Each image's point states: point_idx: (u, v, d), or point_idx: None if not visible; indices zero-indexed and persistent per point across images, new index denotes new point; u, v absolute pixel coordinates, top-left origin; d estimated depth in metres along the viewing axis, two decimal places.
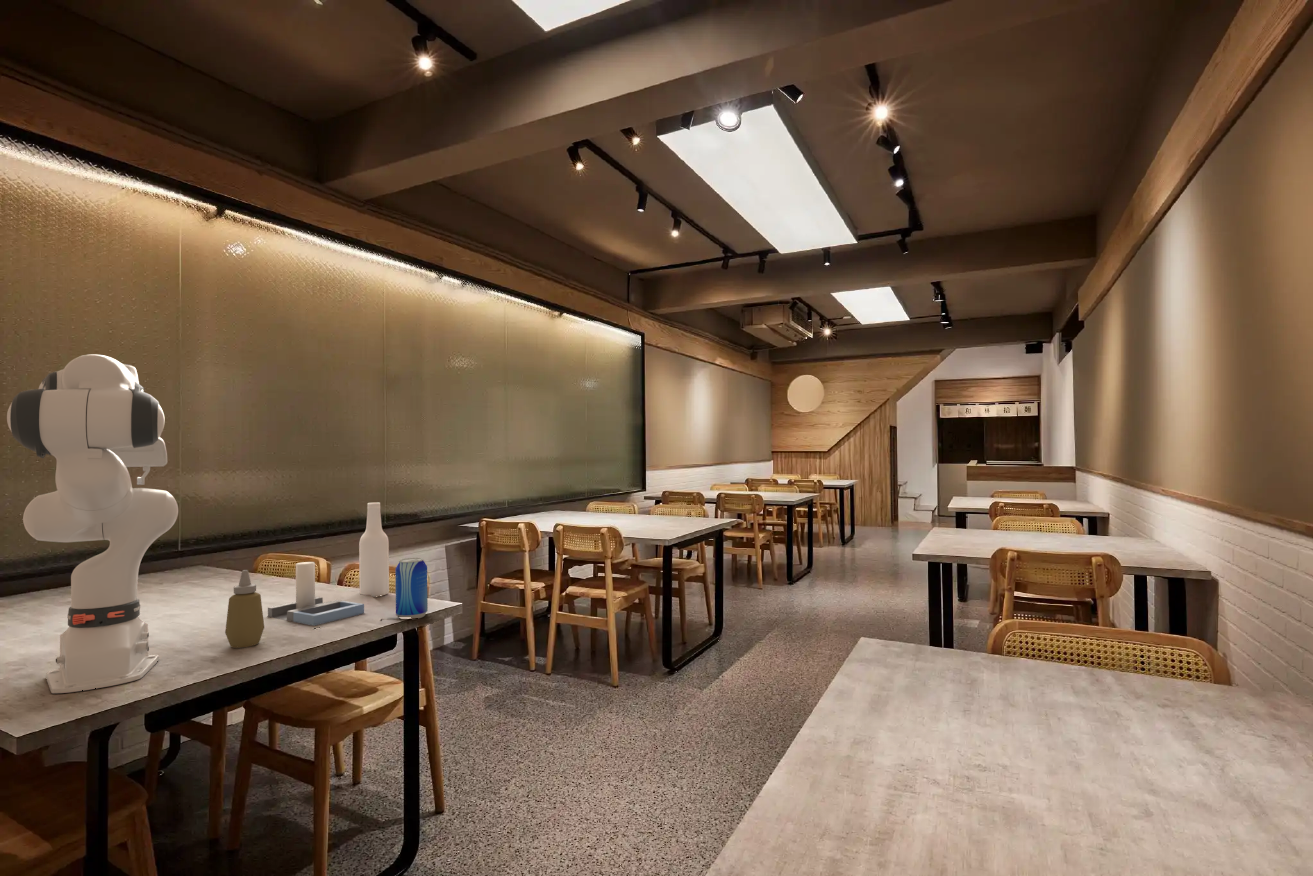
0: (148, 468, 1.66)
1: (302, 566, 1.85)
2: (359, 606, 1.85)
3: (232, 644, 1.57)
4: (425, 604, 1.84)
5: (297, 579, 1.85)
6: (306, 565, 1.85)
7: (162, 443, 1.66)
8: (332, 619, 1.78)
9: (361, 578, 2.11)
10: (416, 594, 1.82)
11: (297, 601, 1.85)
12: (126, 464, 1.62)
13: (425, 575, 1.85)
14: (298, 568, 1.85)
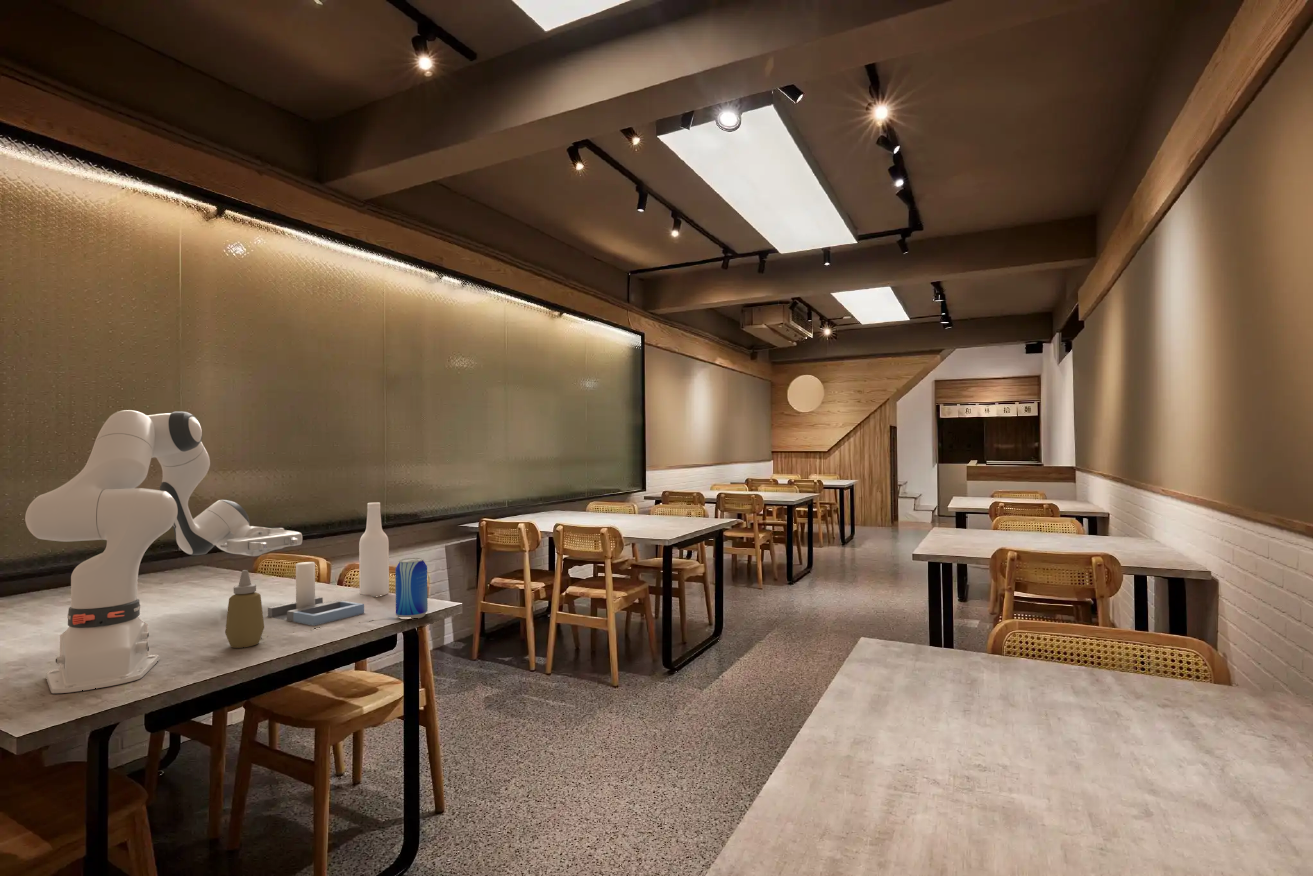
0: (292, 537, 2.01)
1: (302, 566, 1.85)
2: (359, 606, 1.85)
3: (232, 644, 1.57)
4: (425, 604, 1.84)
5: (297, 579, 1.85)
6: (306, 565, 1.85)
7: None
8: (332, 619, 1.78)
9: (361, 578, 2.11)
10: (416, 594, 1.82)
11: (297, 601, 1.85)
12: (276, 536, 1.98)
13: (425, 575, 1.85)
14: (298, 568, 1.85)
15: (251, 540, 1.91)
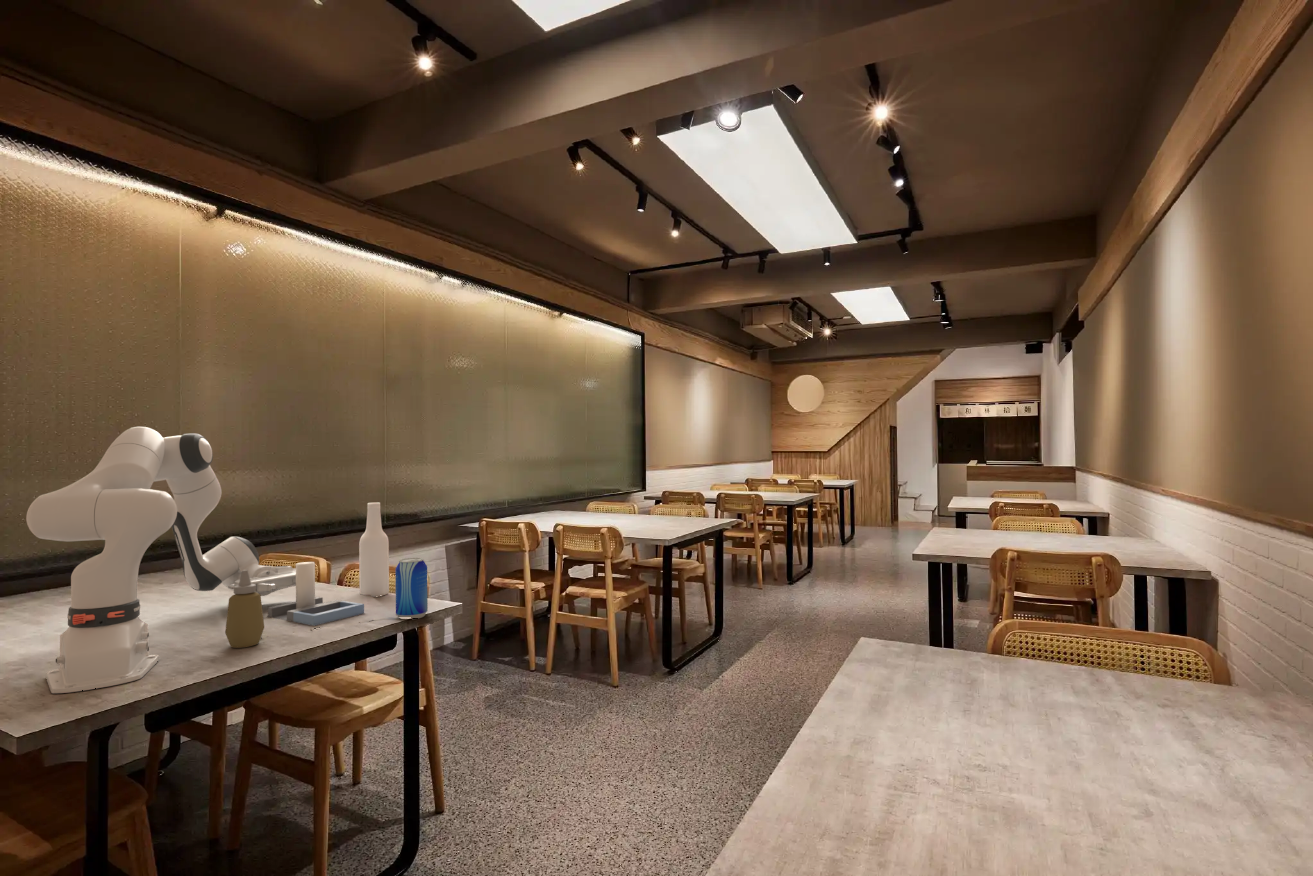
0: None
1: (302, 566, 1.85)
2: (359, 606, 1.85)
3: (232, 644, 1.57)
4: (425, 604, 1.84)
5: (297, 579, 1.85)
6: (306, 565, 1.85)
7: None
8: (332, 619, 1.78)
9: (361, 578, 2.11)
10: (416, 594, 1.82)
11: (297, 601, 1.85)
12: (284, 575, 1.95)
13: (425, 575, 1.85)
14: (298, 568, 1.85)
15: (259, 581, 1.88)
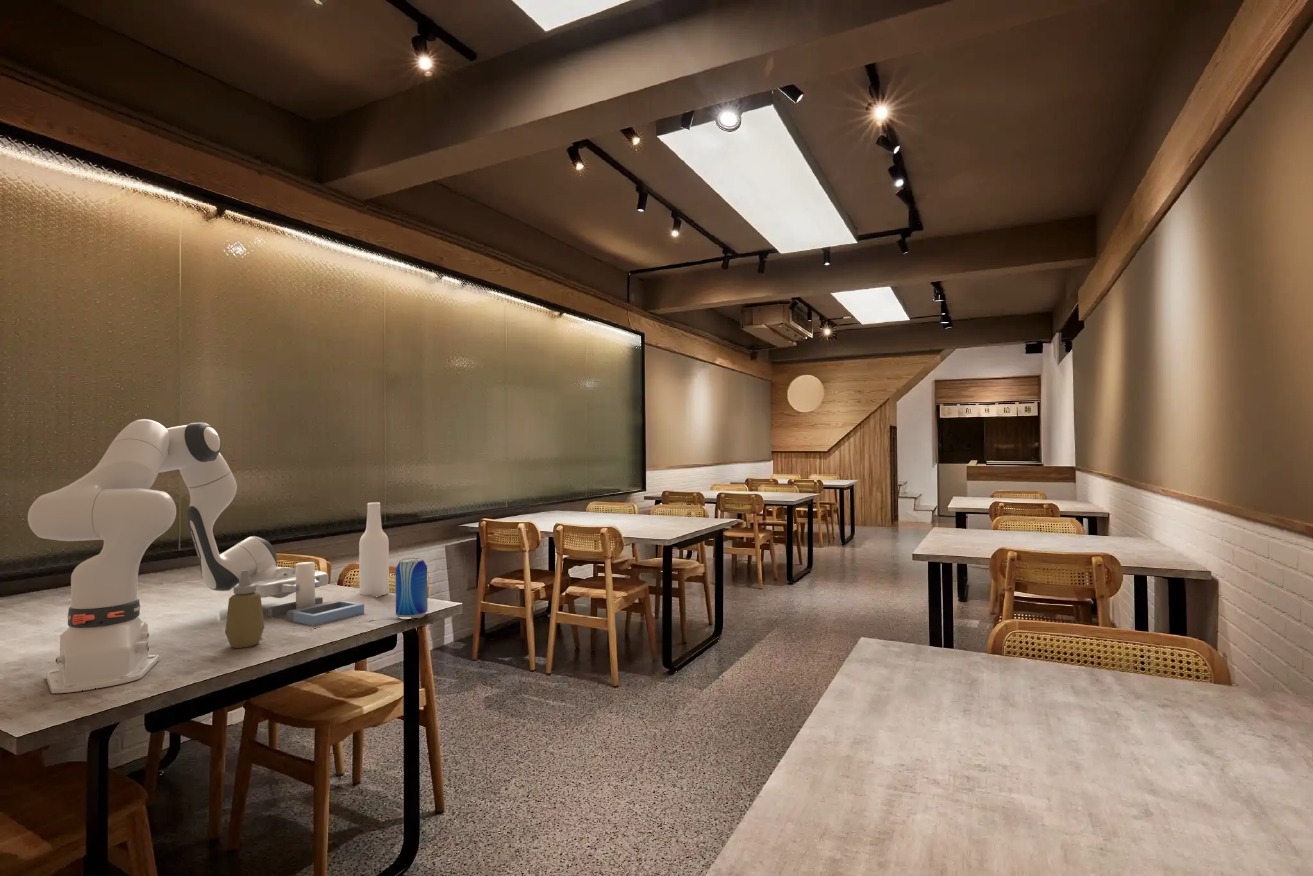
0: None
1: (302, 566, 1.85)
2: (359, 606, 1.85)
3: (232, 644, 1.57)
4: (425, 604, 1.84)
5: (297, 579, 1.85)
6: (306, 565, 1.85)
7: None
8: (332, 619, 1.78)
9: (361, 578, 2.11)
10: (416, 594, 1.82)
11: (297, 601, 1.85)
12: None
13: (425, 575, 1.85)
14: (297, 568, 1.85)
15: (277, 583, 1.84)
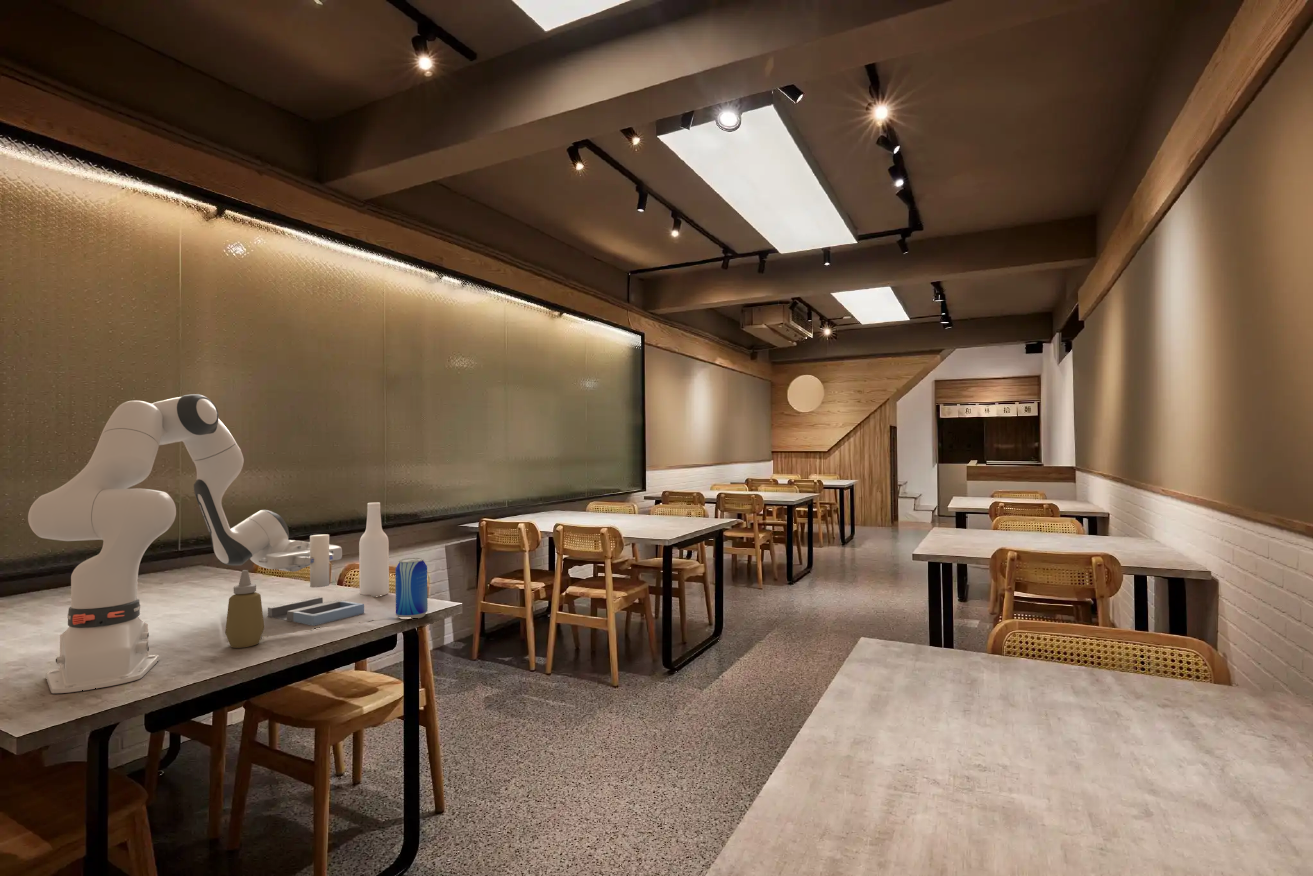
0: None
1: (316, 538, 1.82)
2: (359, 606, 1.85)
3: (232, 644, 1.57)
4: (425, 604, 1.84)
5: (311, 551, 1.82)
6: (320, 537, 1.82)
7: None
8: (332, 619, 1.78)
9: (361, 578, 2.11)
10: (416, 594, 1.82)
11: (311, 573, 1.82)
12: None
13: (425, 575, 1.85)
14: (312, 540, 1.82)
15: (291, 555, 1.81)
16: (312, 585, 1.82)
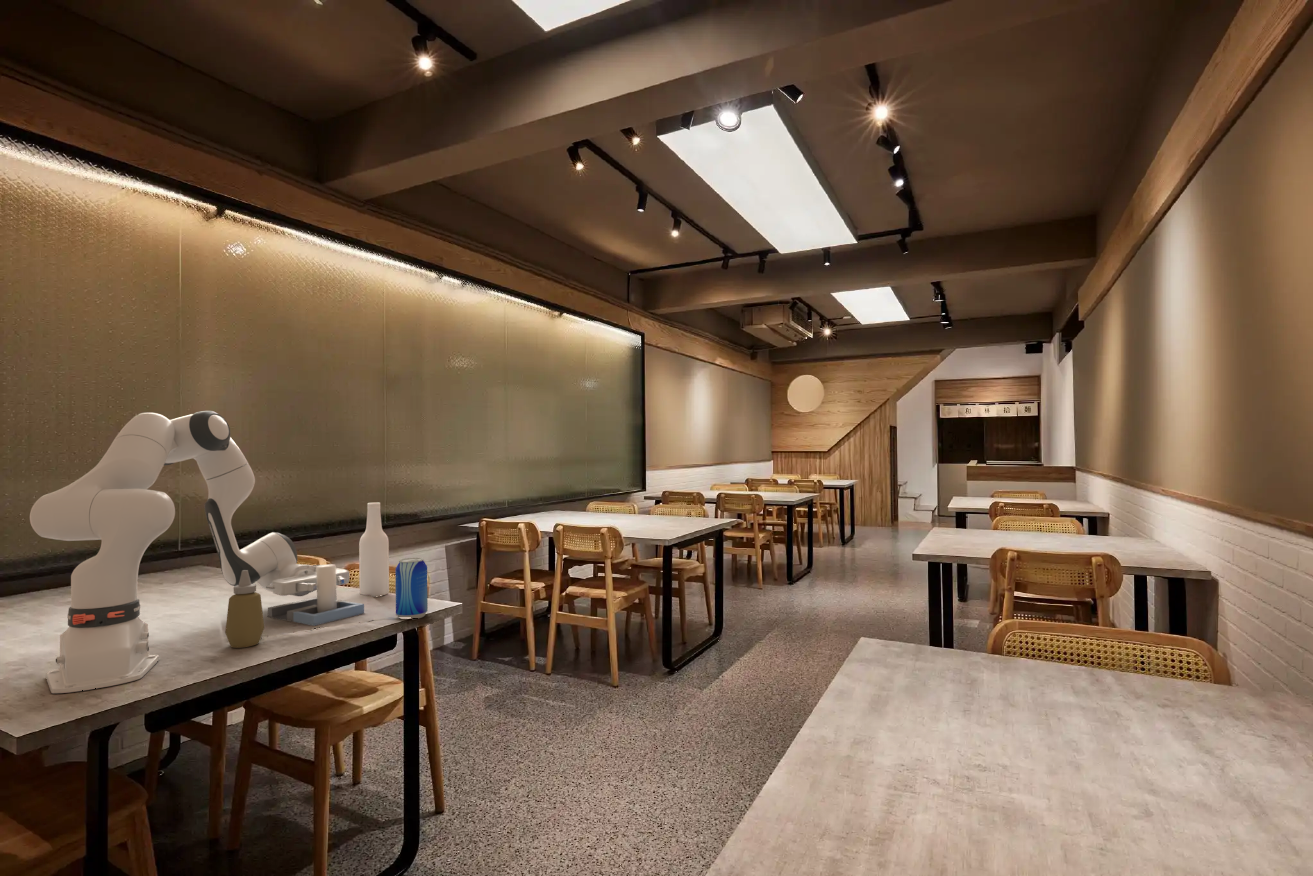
0: (339, 575, 1.89)
1: (323, 569, 1.80)
2: (359, 606, 1.85)
3: (232, 644, 1.57)
4: (425, 604, 1.84)
5: (318, 582, 1.80)
6: (327, 568, 1.80)
7: None
8: (332, 619, 1.78)
9: (361, 578, 2.11)
10: (416, 594, 1.82)
11: (319, 605, 1.80)
12: None
13: (425, 575, 1.85)
14: (318, 571, 1.80)
15: (299, 581, 1.79)
16: None
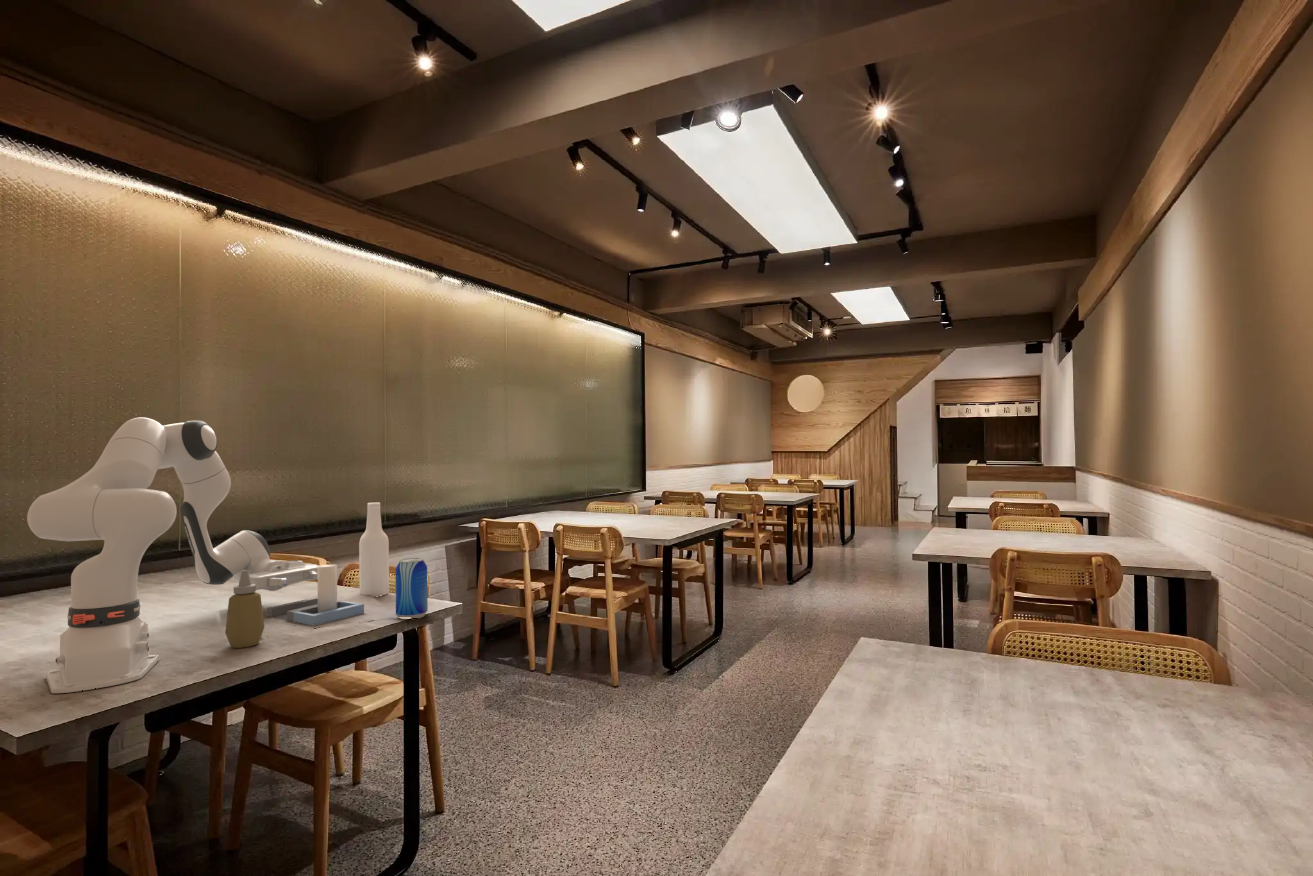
0: (312, 570, 1.96)
1: (324, 569, 1.80)
2: (359, 606, 1.85)
3: (232, 644, 1.57)
4: (425, 604, 1.84)
5: (319, 582, 1.80)
6: (328, 568, 1.80)
7: None
8: (332, 619, 1.78)
9: (361, 578, 2.11)
10: (416, 594, 1.82)
11: (319, 605, 1.80)
12: (296, 570, 1.93)
13: (425, 575, 1.85)
14: (319, 571, 1.80)
15: (271, 576, 1.86)
16: None
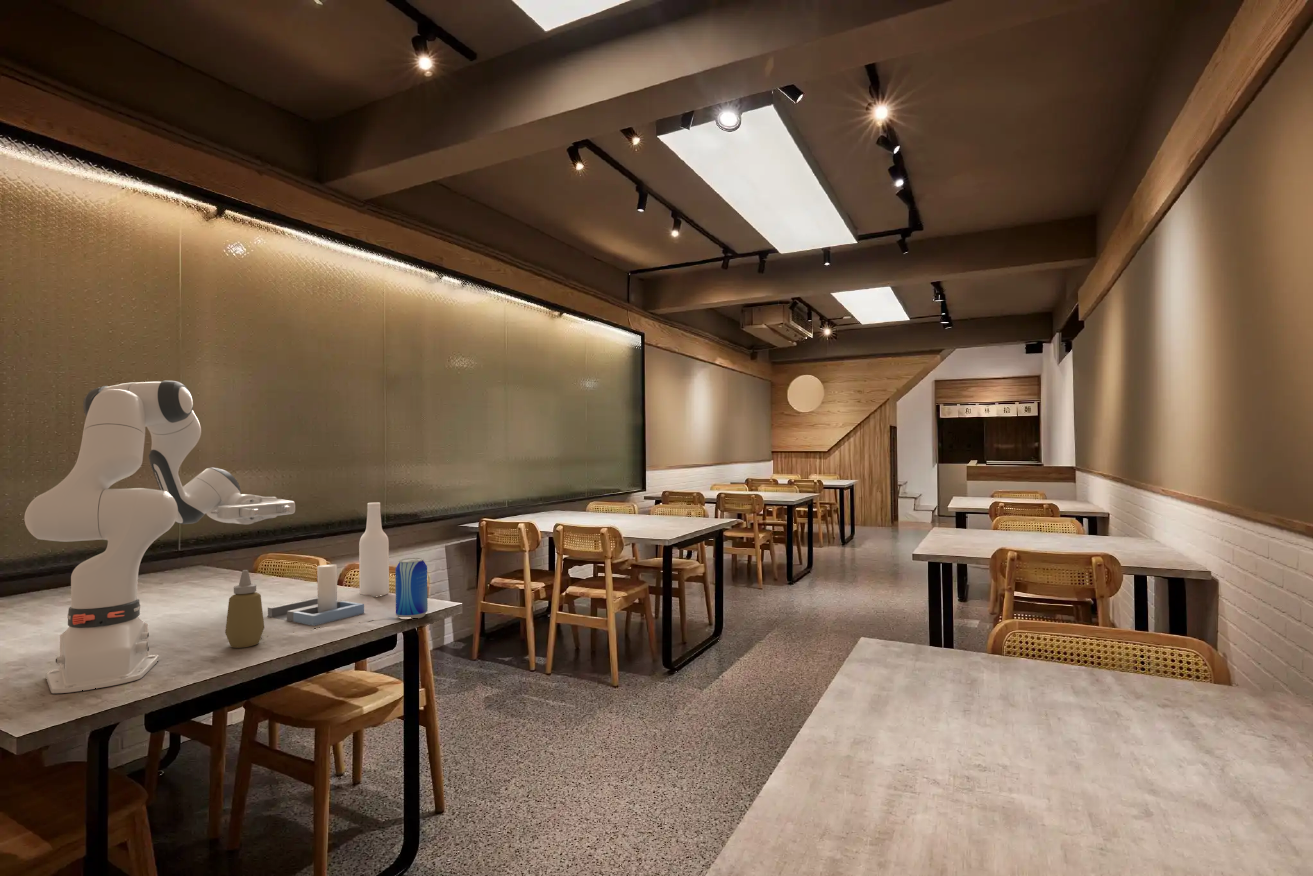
0: (285, 505, 1.96)
1: (324, 569, 1.80)
2: (359, 606, 1.85)
3: (232, 644, 1.57)
4: (425, 604, 1.84)
5: (319, 582, 1.80)
6: (328, 568, 1.80)
7: None
8: (332, 619, 1.78)
9: (361, 578, 2.11)
10: (416, 594, 1.82)
11: (319, 605, 1.80)
12: (268, 503, 1.93)
13: (425, 575, 1.85)
14: (319, 571, 1.80)
15: (242, 506, 1.86)
16: None
